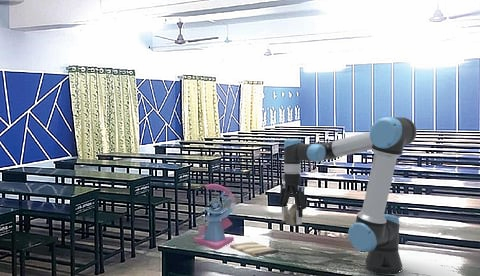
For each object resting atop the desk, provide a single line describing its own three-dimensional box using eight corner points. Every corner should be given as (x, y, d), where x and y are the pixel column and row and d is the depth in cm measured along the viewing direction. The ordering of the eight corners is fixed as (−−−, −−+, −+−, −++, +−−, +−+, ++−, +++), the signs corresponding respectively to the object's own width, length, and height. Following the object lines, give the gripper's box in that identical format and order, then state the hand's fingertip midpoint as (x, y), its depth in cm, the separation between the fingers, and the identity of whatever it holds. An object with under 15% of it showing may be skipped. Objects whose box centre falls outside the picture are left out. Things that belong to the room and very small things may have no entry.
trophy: (233, 240, 259) (234, 182, 257) (237, 249, 242) (238, 186, 241) (193, 241, 256) (194, 182, 255) (195, 250, 239) (196, 186, 238)
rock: (289, 217, 239) (290, 198, 235) (302, 220, 236) (304, 202, 232) (279, 230, 229) (280, 210, 225) (293, 233, 226) (294, 214, 222)
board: (278, 252, 237) (278, 250, 237) (255, 256, 230) (255, 254, 229) (252, 243, 254) (252, 241, 254) (229, 247, 246) (230, 244, 246)
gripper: (315, 174, 223) (314, 225, 224) (283, 170, 241) (282, 217, 241) (302, 175, 219) (302, 227, 220) (270, 171, 236) (270, 219, 237)
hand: (291, 222), depth 231 cm, fingers closed on rock, 9 cm apart
